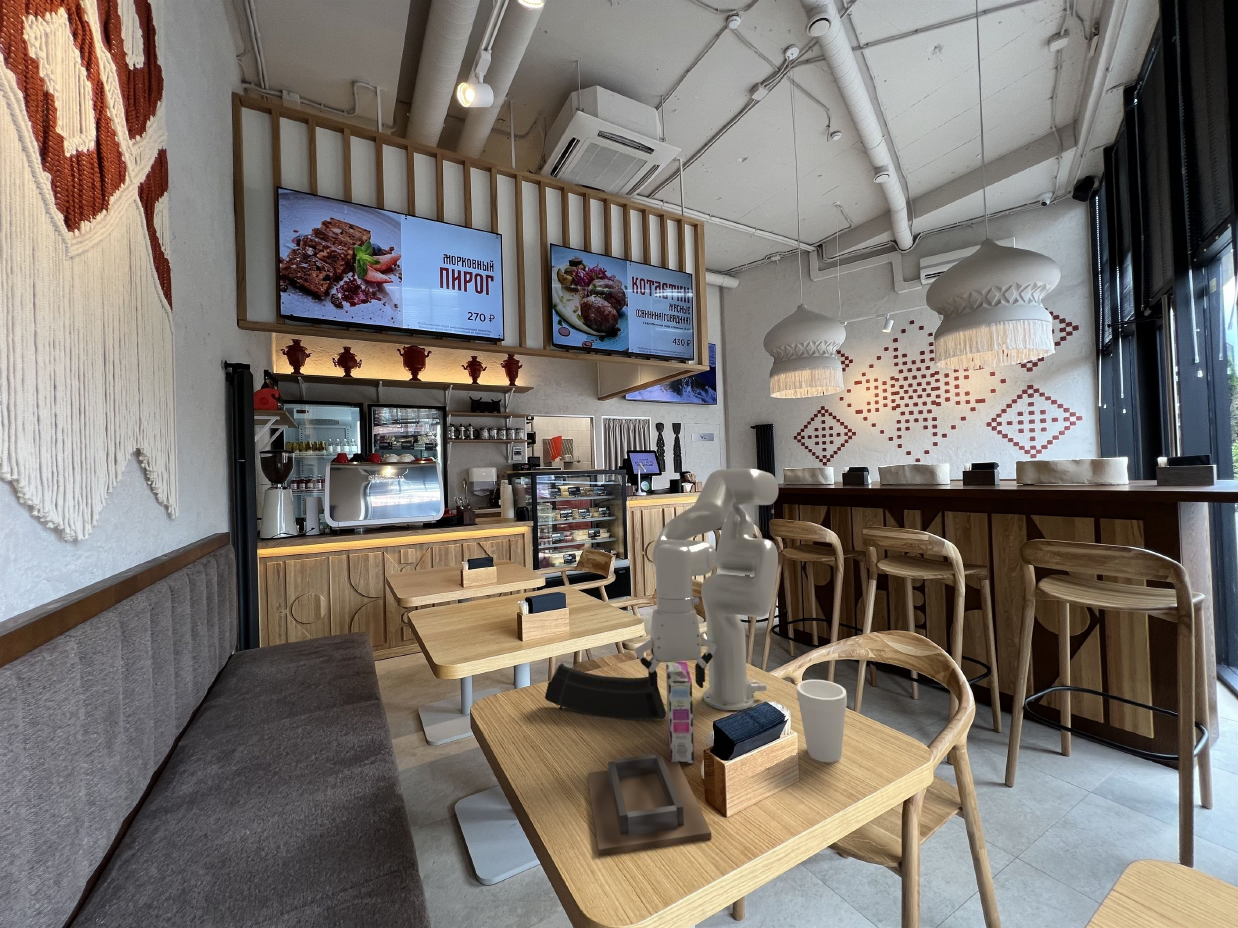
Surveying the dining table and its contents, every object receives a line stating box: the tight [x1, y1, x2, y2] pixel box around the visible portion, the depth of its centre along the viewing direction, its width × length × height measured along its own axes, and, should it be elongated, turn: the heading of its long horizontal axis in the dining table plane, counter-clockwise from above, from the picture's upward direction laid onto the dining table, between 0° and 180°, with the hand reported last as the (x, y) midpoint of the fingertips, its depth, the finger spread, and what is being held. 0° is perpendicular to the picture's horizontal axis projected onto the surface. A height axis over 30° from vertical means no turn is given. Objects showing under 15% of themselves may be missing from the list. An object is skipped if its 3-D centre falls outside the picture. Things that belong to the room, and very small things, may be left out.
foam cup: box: [796, 679, 848, 763], centre depth 102 cm, size 10×9×13 cm
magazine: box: [544, 663, 667, 721], centre depth 122 cm, size 17×3×30 cm
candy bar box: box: [665, 661, 695, 765], centre depth 106 cm, size 11×5×16 cm, turn 178°
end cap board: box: [587, 753, 713, 857], centre depth 88 cm, size 18×20×4 cm
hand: (677, 687), depth 104 cm, fingers open, 9 cm apart
